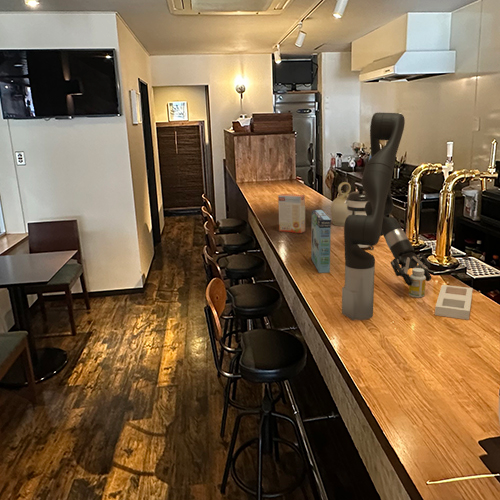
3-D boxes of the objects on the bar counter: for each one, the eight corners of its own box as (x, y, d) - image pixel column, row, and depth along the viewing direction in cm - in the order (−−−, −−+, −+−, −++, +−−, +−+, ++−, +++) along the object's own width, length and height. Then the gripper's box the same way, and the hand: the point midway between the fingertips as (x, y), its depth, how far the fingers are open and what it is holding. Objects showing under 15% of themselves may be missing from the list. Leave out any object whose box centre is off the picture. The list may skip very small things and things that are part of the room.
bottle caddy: (468, 319, 145) (469, 311, 144) (434, 314, 150) (435, 306, 149) (471, 296, 163) (472, 288, 162) (441, 292, 167) (441, 284, 167)
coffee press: (365, 254, 215) (366, 190, 207) (337, 248, 227) (338, 187, 218) (386, 246, 226) (388, 185, 217) (358, 240, 238) (360, 182, 229)
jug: (359, 226, 267) (360, 183, 260) (332, 227, 267) (333, 184, 260) (354, 220, 282) (355, 179, 274) (328, 221, 282) (328, 180, 275)
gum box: (311, 259, 211) (310, 210, 205) (322, 258, 211) (322, 209, 205) (318, 273, 193) (318, 219, 186) (330, 272, 193) (331, 219, 186)
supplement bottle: (412, 298, 163) (414, 272, 161) (406, 292, 168) (407, 267, 166) (427, 297, 164) (429, 271, 161) (420, 291, 169) (422, 266, 166)
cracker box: (305, 231, 261) (305, 194, 256) (300, 233, 257) (300, 196, 251) (283, 229, 269) (283, 193, 263) (278, 231, 264) (277, 194, 258)
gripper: (388, 241, 164) (410, 281, 158) (419, 235, 170) (441, 274, 163) (378, 252, 170) (398, 291, 164) (408, 246, 176) (429, 283, 169)
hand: (420, 282), depth 163 cm, fingers open, 8 cm apart
